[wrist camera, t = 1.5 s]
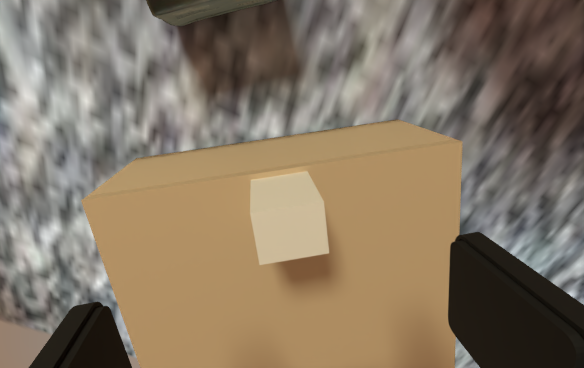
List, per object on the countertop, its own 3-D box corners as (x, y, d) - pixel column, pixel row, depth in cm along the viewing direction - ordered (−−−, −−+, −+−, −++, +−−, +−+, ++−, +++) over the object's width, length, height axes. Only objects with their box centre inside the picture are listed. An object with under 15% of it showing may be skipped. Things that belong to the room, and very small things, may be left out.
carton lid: (456, 139, 19) (523, 162, 14) (449, 361, 24) (497, 432, 20) (86, 196, 18) (26, 242, 13) (163, 417, 23) (140, 507, 18)
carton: (397, 119, 27) (455, 139, 19) (402, 291, 32) (449, 360, 24) (136, 158, 25) (87, 195, 18) (185, 330, 31) (163, 416, 23)
